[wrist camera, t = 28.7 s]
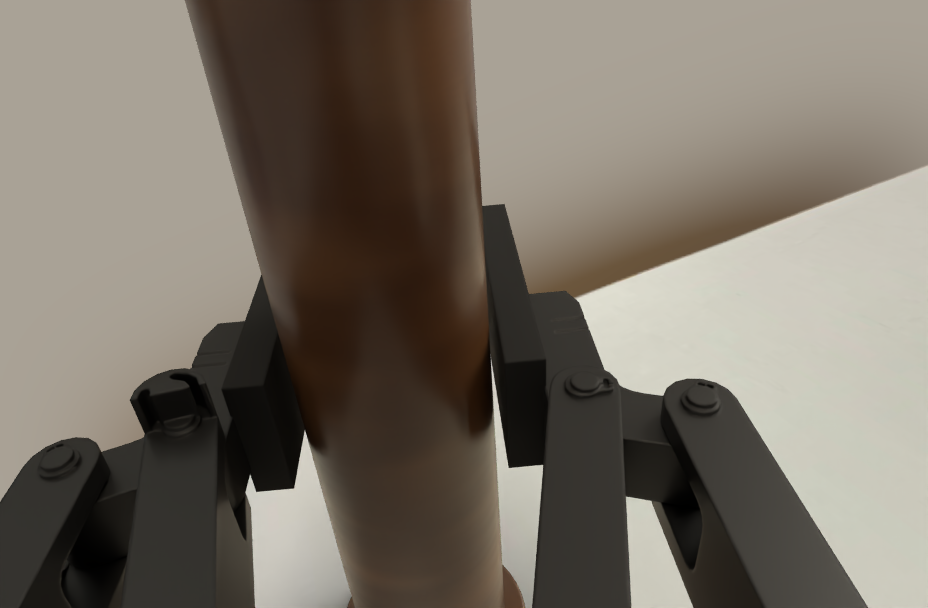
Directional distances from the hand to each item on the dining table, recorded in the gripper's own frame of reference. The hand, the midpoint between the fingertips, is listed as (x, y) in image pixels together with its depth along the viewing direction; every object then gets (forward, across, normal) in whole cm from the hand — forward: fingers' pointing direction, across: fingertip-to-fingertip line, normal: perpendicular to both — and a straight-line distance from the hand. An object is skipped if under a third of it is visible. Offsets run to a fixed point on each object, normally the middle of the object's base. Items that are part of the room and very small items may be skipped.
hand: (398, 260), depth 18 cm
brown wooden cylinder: (-5, 0, -10) cm, 11 cm away
